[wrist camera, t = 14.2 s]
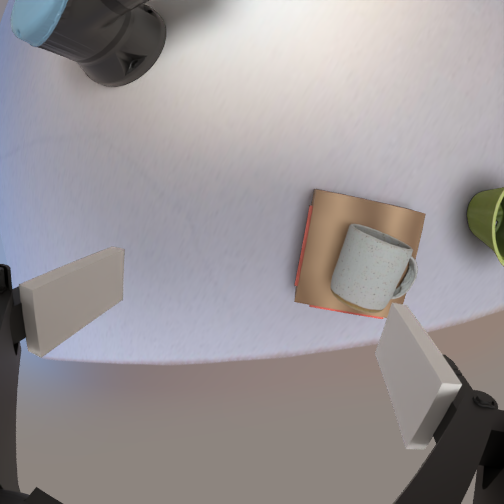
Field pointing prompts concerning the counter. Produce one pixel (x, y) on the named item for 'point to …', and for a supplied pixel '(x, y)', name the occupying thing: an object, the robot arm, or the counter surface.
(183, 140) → the counter surface
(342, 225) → the wooden box
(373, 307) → the ceramic mug
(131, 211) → the counter surface
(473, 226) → the plant pot
